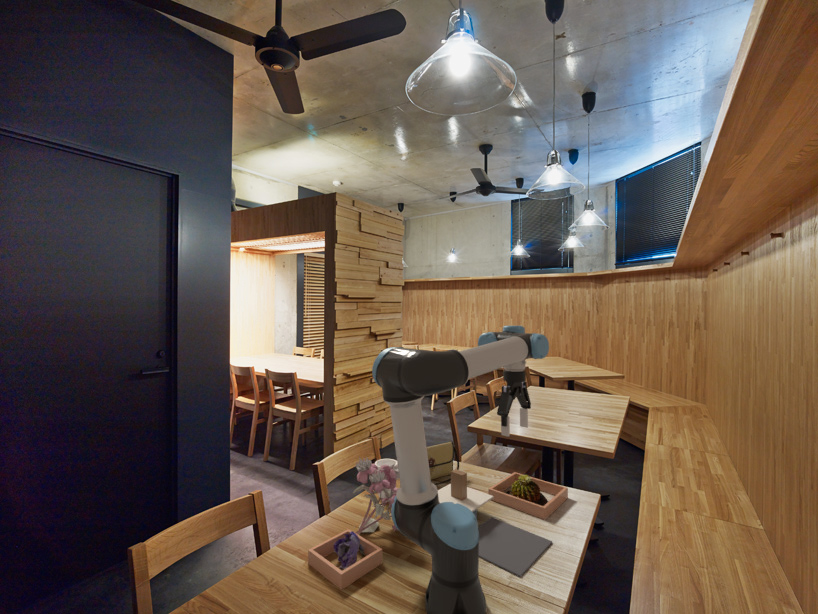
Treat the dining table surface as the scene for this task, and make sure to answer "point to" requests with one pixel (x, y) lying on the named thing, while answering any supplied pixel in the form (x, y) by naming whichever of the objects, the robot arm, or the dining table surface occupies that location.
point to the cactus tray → (526, 505)
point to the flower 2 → (377, 491)
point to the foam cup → (379, 464)
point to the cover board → (470, 499)
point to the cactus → (527, 490)
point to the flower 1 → (348, 549)
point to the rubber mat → (509, 546)
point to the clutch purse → (441, 460)
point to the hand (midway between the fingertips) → (515, 431)
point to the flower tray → (351, 572)
